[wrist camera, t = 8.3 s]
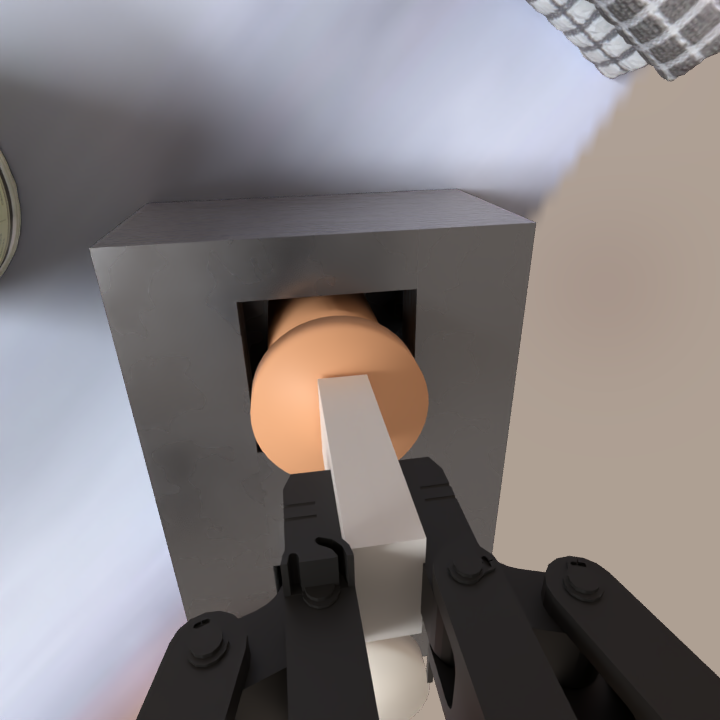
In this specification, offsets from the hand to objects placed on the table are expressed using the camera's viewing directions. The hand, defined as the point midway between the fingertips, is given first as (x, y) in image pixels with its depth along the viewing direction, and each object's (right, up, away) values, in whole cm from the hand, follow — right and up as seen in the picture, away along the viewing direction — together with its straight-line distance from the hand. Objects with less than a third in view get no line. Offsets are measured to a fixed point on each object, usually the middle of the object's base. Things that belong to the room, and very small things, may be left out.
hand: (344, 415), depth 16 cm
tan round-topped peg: (-2, +4, +8) cm, 9 cm away
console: (-2, -1, +12) cm, 12 cm away
